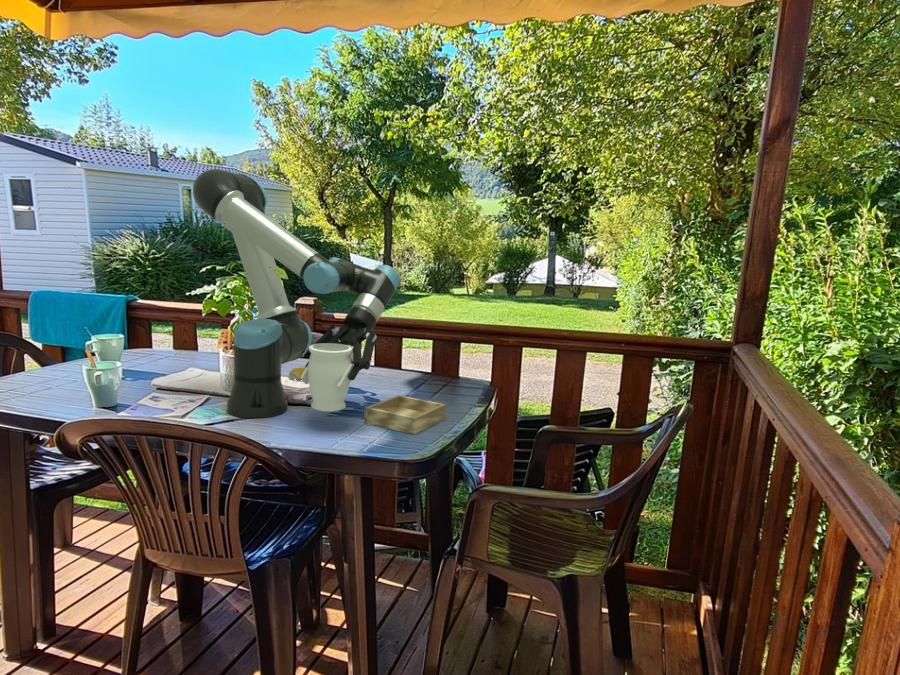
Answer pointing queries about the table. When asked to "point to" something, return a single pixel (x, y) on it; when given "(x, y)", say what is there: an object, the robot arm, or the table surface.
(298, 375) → the bread roll
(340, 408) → the jar
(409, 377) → the table surface
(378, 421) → the holder
